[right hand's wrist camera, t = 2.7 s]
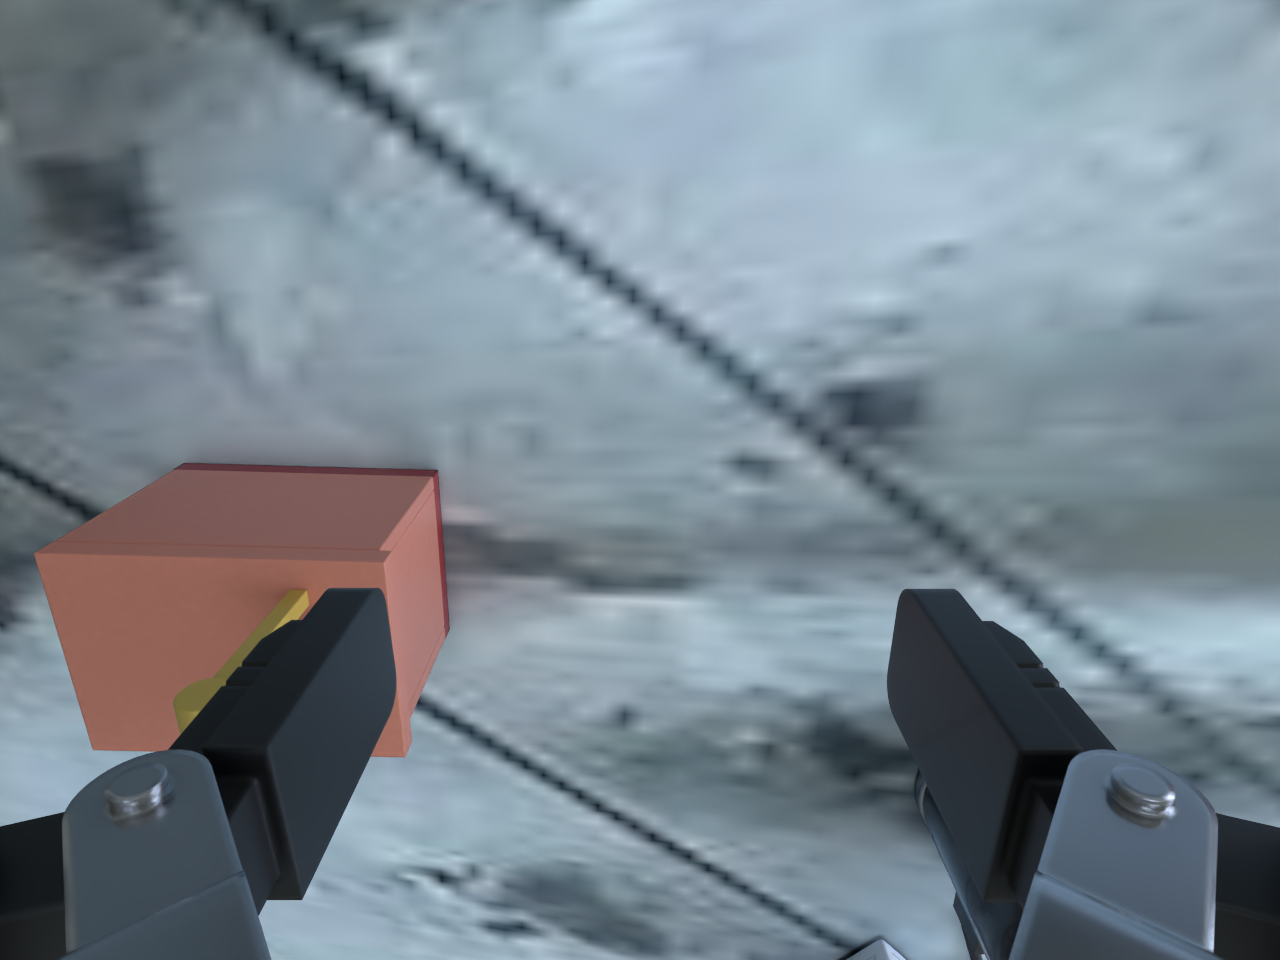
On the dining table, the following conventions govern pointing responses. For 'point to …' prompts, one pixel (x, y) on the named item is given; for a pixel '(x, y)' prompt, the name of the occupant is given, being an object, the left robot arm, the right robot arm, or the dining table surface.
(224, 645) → the block with yellow handle
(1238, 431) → the dining table surface
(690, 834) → the dining table surface
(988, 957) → the right robot arm
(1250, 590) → the dining table surface
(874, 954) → the ink box
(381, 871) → the dining table surface
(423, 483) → the chest
